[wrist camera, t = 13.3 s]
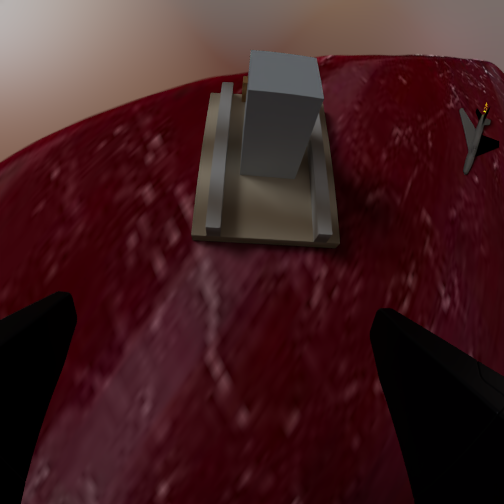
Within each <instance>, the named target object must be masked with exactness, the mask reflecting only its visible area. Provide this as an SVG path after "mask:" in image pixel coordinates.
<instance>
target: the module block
mask: <svg viewBox="0 0 504 504" xmlns="http://www.w3.org/2000/svg"><path fill="white" fill-rule="evenodd" d="M323 100H324V96H323V91H322V85H321V79H320V74H319V69H318V64H317V59H316V58H313V57H307V56H300V55H293V54H285V53H277V52H268V51H257V50H251V55H250V66H249V74H248V84H247V94H246V104H245V114H244V124H243V135H242V150H241V165H240V175H250V176H263V177H275V178H286V179H295V177H296V175H297V172H298V169H299V166H300V164H301V161H302V158H303V155H304V153H305V150H306V147H307V144H308V142H309V139H310V136H311V133H312V131H313V128H314V125H315V122H316V120H317V117H318V114H319V111H320V108H321V106H322V103H323Z"/></svg>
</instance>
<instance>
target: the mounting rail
mask: <svg viewBox="0 0 504 504" xmlns="http://www.w3.org/2000/svg"><path fill="white" fill-rule="evenodd" d="M247 84H248V76H244V77H243V89H242V95H241V94H233V83H229V82H223V83H222V90H221V93H211V96H210V102H209V108H208V114H207V120H206V126H205V133H204V139H203V146H202V153H201V160H200V167H199V175H198V182H197V190H196V198H195V207H194V215H193V224H192V233H191V236H192V240H198V241H217V242H236V243H254V244H272V245H289V246H307V247H323V248H336V247H337V246H338V245H339V244H340V238H339V226H338V215H337V205H336V195H335V186H334V177H333V169H332V161H331V154H330V147H329V139H328V133H327V126H326V120H325V113H324V107H323V103H322V106H321V108H320V111H319V114H318V117H317V120H316V122H315V125H314V128H313V131H312V133H311V136H310V139H309V142H308V144H307V147H306V150H305V153H304V155H303V158H302V161H301V164H300V166H299V169H298V172H297V175H296V177H295V179H286V178H275V177H263V176H250V175H240V165H241V150H242V135H243V124H244V114H245V104H246V94H247Z"/></svg>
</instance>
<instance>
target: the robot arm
mask: <svg viewBox="0 0 504 504" xmlns="http://www.w3.org/2000/svg"><path fill="white" fill-rule="evenodd" d="M76 324H77V314H76V310H75V306H74V302H73V298H72V295H71V294H70V293H69V292H61V291H58V292H56V293H54V294H51V295H49V296H47V297H45V298H43V299H41V300H39V301H37V302H35V303H33V304H31V305H29V306H27V307H25V308H23V309H21V310H19V311H17V312H15V313H13V314H11V315H9V316H7V317H5V318H3V319H1V320H0V504H21V501H22V496H23V492H24V487H25V482H26V478H27V475H28V471H29V467H30V463H31V460H32V456H33V452H34V449H35V446H36V442H37V439H38V436H39V433H40V429H41V426H42V423H43V420H44V417H45V414H46V411H47V409H48V406H49V403H50V400H51V397H52V395H53V392H54V389H55V387H56V384H57V381H58V379H59V376H60V374H61V371H62V368H63V366H64V363H65V360H66V357H67V353H68V350H69V346H70V343H71V340H72V336H73V333H74V330H75V327H76ZM370 340H371V345H372V349H373V353H374V358H375V362H376V367H377V371H378V376H379V380H380V383H381V386H382V389H383V392H384V395H385V398H386V401H387V405H388V408H389V411H390V414H391V417H392V421H393V424H394V427H395V431H396V434H397V437H398V441H399V444H400V448H401V451H402V455H403V458H404V462H405V466H406V469H407V473H408V477H409V481H410V485H411V489H412V493H413V497H414V502H415V504H504V376H502V375H500V374H499V373H497V372H495V371H494V370H492V369H490V368H489V367H487V366H485V365H484V364H482V363H481V362H479V361H478V362H477V360H476V359H474V358H472V357H471V356H469V355H468V354H466V353H464V352H463V351H461V350H459V349H458V348H456V347H455V346H453V345H451V344H450V343H448V342H446V341H445V340H443V339H442V338H440V337H438V336H437V335H435V334H433V333H432V332H430V331H428V330H427V329H425V328H423V327H422V326H420V325H418V324H417V323H415V322H413V321H412V320H410V319H408V318H407V317H405V316H403V315H402V314H400V313H398V312H397V311H395V310H393V309H391V308H380V309H379V310H378V311H377V312H376V315H375V318H374V321H373V324H372V327H371V330H370Z"/></svg>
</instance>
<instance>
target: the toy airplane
mask: <svg viewBox="0 0 504 504" xmlns="http://www.w3.org/2000/svg"><path fill="white" fill-rule="evenodd" d="M486 104H487V103H486ZM486 107H487V106H486ZM489 109H490V107H489ZM489 109H488V110H487V112H485V115H482V114H481V113H480V112H479V110H478V109H477V110H476V114H477V116H478V119H479V122H478V125H477V128H476V129H475V127H474V126H473V124H472V122H471V121H470V119H469V118H468V116H467V114H466V113H465V111H464V110H463V108H461V109H460V110H459V111H460V115H461V119H462V123H463V127H464V131H465V136H466V140H467V145H468V150H469V152H468V155H467V157H466V161H465V164H464V170H463V172H464V175H465V173H466V174H467V173H468V172H469V170H470V168H471V166H472V164H473V161H474V158H475V156H478V155H480V154H483V153H485V152H488V151H490V150H493V149H495V148H498V147H499V141H497V140H494V139H492V138H489V137H486V136H483V135H482V132H483V128H484V125H490V122H491V120H489V119H486V116H487V114H488V112H489Z"/></svg>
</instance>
